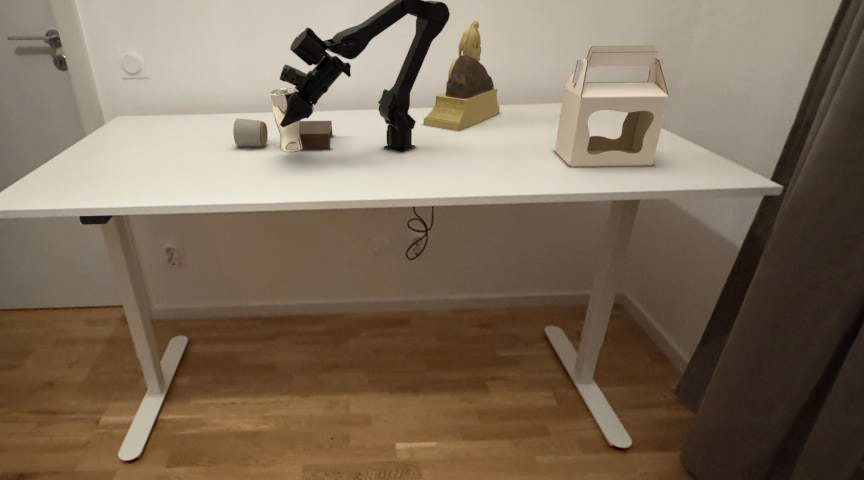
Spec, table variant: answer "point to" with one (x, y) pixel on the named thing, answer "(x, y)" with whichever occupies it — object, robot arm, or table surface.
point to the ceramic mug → (250, 133)
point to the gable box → (632, 97)
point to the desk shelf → (316, 134)
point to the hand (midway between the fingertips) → (283, 122)
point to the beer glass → (280, 107)
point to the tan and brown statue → (465, 88)
